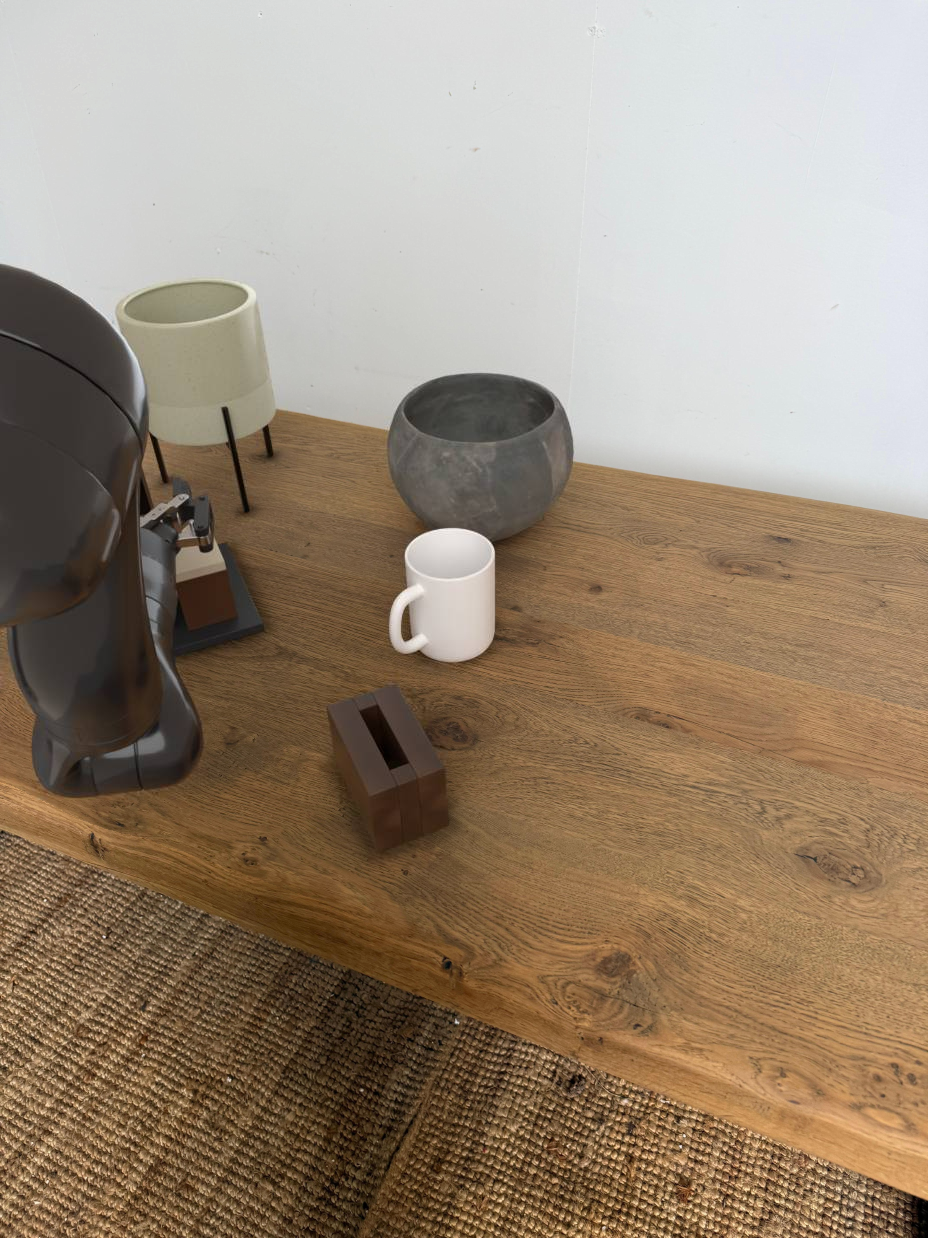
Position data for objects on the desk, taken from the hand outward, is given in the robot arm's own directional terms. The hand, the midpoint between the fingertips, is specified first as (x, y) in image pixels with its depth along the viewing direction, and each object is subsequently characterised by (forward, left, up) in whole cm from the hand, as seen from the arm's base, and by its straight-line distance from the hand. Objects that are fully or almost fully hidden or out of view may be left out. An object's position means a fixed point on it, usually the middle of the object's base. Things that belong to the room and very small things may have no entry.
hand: (132, 492), depth 82 cm
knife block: (+12, -33, -14) cm, 38 cm away
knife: (0, -1, -13) cm, 13 cm away
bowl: (+36, 0, -14) cm, 39 cm away
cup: (+23, -18, -14) cm, 33 cm away
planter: (+11, +23, -14) cm, 29 cm away
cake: (0, 0, -14) cm, 14 cm away
